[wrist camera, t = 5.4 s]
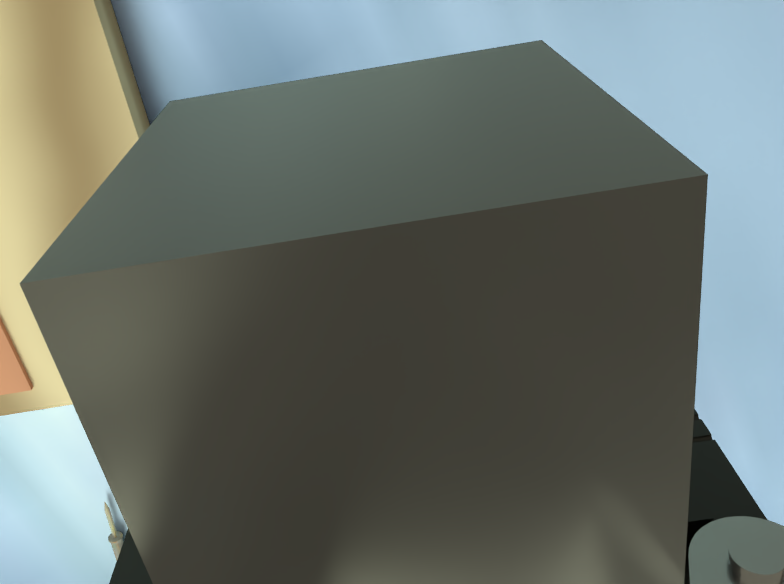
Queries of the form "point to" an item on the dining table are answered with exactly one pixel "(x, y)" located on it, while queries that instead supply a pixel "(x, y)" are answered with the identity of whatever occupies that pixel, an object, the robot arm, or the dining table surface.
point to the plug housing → (391, 330)
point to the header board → (53, 159)
